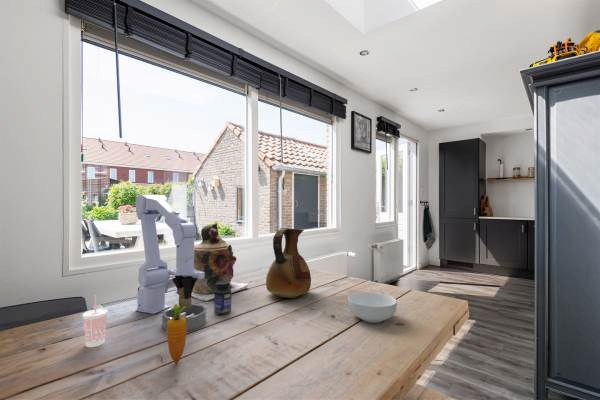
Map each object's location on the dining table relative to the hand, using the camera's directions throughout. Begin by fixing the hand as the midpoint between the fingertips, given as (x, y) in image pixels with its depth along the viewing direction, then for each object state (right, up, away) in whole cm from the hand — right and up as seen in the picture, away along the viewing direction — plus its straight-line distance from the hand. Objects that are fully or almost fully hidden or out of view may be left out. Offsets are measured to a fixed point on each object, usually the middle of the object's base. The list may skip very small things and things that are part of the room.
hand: (185, 297), depth 102 cm
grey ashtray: (0, -9, 0) cm, 8 cm away
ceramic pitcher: (+34, -9, +31) cm, 47 cm away
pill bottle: (+10, -9, +10) cm, 17 cm away
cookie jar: (-2, -9, +38) cm, 39 cm away
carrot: (+8, -9, -25) cm, 28 cm away
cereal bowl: (+65, -9, +4) cm, 65 cm away
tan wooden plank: (0, -3, 0) cm, 3 cm away
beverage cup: (-20, -9, -15) cm, 27 cm away
